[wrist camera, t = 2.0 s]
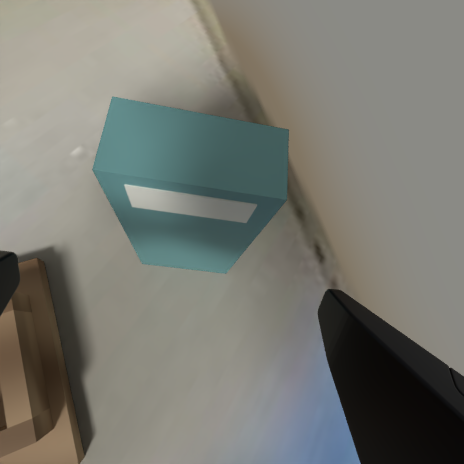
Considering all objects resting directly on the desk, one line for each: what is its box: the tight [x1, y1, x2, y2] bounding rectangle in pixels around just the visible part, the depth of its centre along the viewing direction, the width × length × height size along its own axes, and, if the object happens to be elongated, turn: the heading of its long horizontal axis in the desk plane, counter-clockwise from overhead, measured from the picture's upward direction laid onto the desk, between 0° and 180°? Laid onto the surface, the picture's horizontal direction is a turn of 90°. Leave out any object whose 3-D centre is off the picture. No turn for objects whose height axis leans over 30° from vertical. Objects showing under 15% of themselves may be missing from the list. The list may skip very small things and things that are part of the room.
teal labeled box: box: [92, 97, 289, 274], centre depth 14 cm, size 3×6×12 cm, turn 85°
